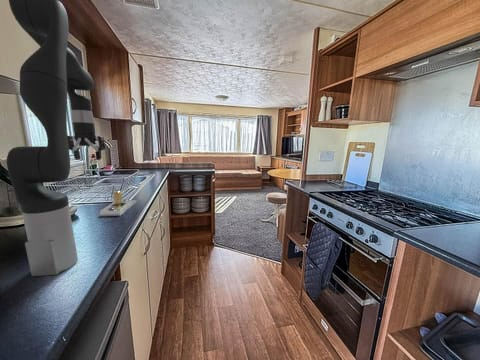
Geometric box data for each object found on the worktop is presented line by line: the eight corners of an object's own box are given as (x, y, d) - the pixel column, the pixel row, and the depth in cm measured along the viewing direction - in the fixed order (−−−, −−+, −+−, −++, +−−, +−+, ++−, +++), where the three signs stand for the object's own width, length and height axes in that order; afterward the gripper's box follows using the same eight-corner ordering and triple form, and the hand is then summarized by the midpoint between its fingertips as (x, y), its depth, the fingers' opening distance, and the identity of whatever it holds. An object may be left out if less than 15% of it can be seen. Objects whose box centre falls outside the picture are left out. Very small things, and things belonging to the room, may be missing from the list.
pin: (121, 210, 102) (119, 192, 100) (113, 210, 101) (111, 192, 99) (124, 207, 105) (122, 190, 103) (117, 207, 105) (115, 190, 103)
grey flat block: (120, 215, 95) (119, 209, 94) (100, 216, 94) (99, 209, 93) (136, 202, 114) (135, 196, 114) (120, 202, 113) (119, 197, 113)
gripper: (59, 121, 85) (65, 160, 88) (95, 121, 86) (100, 160, 89) (71, 122, 92) (77, 159, 96) (105, 123, 94) (109, 159, 97)
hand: (88, 159), depth 93 cm, fingers open, 8 cm apart
